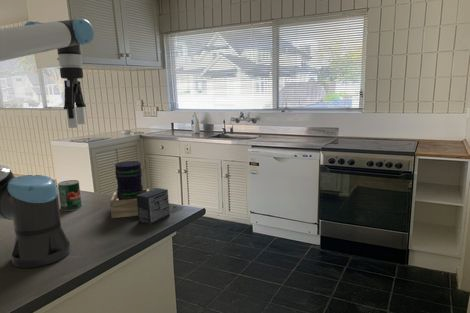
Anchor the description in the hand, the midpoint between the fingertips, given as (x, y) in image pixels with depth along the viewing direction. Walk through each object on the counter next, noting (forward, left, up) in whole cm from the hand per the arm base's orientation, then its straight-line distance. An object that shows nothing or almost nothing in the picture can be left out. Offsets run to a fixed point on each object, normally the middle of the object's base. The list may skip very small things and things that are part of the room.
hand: (77, 126), depth 129 cm
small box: (-12, -26, -35) cm, 45 cm away
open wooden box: (0, -17, -35) cm, 39 cm away
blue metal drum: (0, -17, -31) cm, 35 cm away
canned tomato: (+10, +8, -35) cm, 37 cm away
